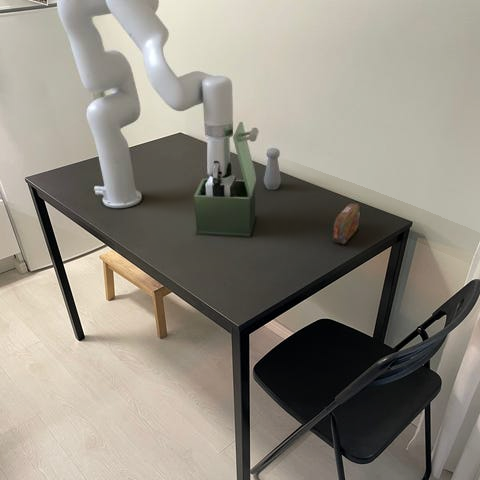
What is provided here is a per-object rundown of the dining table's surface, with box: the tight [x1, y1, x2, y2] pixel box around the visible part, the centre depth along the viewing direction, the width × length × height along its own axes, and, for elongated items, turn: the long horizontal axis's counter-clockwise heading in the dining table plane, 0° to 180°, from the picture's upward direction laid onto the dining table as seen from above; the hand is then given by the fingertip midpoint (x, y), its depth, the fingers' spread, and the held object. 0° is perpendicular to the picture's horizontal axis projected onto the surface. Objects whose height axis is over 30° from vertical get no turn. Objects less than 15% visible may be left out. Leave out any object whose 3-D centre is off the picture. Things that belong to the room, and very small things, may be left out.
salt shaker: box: [263, 147, 282, 191], centre depth 161 cm, size 6×6×13 cm
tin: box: [332, 202, 362, 245], centre depth 136 cm, size 15×3×8 cm, turn 148°
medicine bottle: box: [206, 161, 237, 197], centre depth 136 cm, size 7×7×12 cm
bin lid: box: [232, 121, 260, 197], centre depth 131 cm, size 16×12×5 cm
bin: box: [193, 177, 256, 238], centre depth 141 cm, size 16×12×12 cm
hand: (221, 192), depth 138 cm, fingers closed on medicine bottle, 7 cm apart
